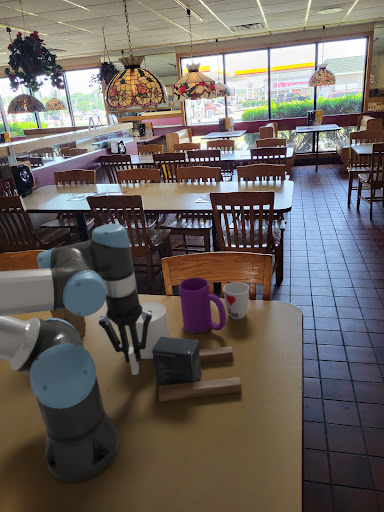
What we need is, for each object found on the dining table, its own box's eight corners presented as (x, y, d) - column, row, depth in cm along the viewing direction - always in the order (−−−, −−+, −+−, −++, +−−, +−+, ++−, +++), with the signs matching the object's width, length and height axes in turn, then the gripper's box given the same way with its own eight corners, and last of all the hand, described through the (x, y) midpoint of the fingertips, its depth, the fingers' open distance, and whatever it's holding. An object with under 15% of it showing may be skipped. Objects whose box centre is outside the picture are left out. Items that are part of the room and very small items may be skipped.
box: (202, 372, 100) (199, 339, 96) (195, 389, 95) (191, 355, 91) (164, 367, 103) (160, 335, 99) (155, 384, 98) (150, 351, 94)
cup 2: (220, 312, 126) (218, 286, 122) (241, 306, 129) (240, 279, 125) (233, 324, 119) (231, 296, 116) (254, 316, 122) (254, 289, 118)
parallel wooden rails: (241, 392, 92) (241, 384, 92) (159, 401, 92) (158, 393, 91) (231, 353, 106) (231, 346, 105) (160, 361, 106) (159, 354, 105)
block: (90, 335, 121) (77, 279, 113) (68, 346, 116) (54, 288, 108) (73, 323, 128) (60, 270, 120) (52, 333, 123) (37, 278, 116)
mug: (195, 315, 126) (191, 274, 121) (234, 329, 117) (232, 286, 111) (177, 328, 120) (172, 286, 114) (217, 344, 111) (214, 299, 105)
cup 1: (161, 362, 106) (155, 325, 101) (124, 356, 110) (117, 320, 105) (176, 337, 116) (172, 303, 111) (141, 332, 120) (136, 299, 115)
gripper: (149, 279, 92) (161, 358, 101) (95, 285, 91) (112, 364, 101) (147, 294, 85) (160, 378, 94) (89, 301, 84) (108, 384, 94)
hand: (135, 370), depth 97 cm, fingers closed
